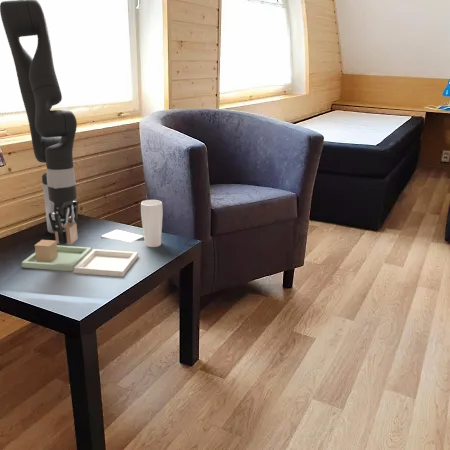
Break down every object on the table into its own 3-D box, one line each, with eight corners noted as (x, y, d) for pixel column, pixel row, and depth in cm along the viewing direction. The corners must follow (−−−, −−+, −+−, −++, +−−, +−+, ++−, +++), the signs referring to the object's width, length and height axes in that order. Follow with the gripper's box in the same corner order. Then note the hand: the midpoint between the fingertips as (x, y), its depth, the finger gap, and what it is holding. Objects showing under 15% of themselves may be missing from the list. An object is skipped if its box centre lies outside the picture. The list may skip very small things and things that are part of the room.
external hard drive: (128, 247, 154) (101, 239, 160) (145, 240, 161) (117, 233, 167) (128, 243, 154) (100, 235, 160) (144, 235, 160) (117, 228, 166)
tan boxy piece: (43, 255, 143) (42, 239, 141) (58, 256, 143) (56, 240, 141) (36, 261, 139) (34, 245, 137) (50, 262, 138) (49, 246, 137)
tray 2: (94, 256, 145) (93, 249, 144) (138, 259, 144) (138, 252, 143) (74, 276, 132) (74, 267, 131) (123, 279, 131) (122, 271, 130)
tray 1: (46, 251, 148) (45, 244, 147) (92, 255, 146) (91, 247, 146) (22, 270, 135) (21, 262, 134) (72, 274, 133) (72, 266, 132)
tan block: (63, 238, 140) (61, 222, 138) (77, 239, 140) (76, 223, 138) (56, 243, 136) (54, 227, 134) (71, 244, 135) (69, 228, 134)
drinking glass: (159, 251, 150) (158, 206, 145) (139, 249, 151) (137, 204, 146) (166, 243, 156) (165, 200, 152) (146, 242, 158) (144, 198, 153)
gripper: (60, 176, 139) (65, 231, 145) (35, 188, 126) (42, 248, 131) (85, 178, 138) (89, 233, 144) (62, 190, 125) (68, 250, 130)
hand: (66, 240), depth 138 cm, fingers closed on tan block, 4 cm apart
